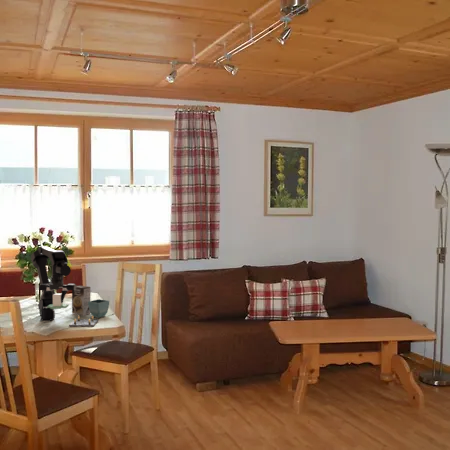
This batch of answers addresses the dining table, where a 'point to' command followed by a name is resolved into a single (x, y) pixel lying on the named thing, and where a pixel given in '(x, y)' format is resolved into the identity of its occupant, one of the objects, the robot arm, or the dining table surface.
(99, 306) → the flower pot
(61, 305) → the block on green base
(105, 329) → the dining table surface
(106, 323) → the dining table surface
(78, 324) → the chassis
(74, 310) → the coffee box
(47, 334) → the dining table surface
